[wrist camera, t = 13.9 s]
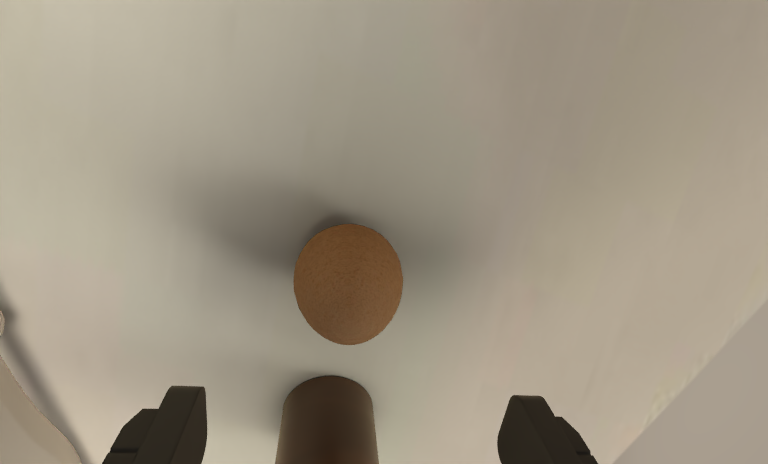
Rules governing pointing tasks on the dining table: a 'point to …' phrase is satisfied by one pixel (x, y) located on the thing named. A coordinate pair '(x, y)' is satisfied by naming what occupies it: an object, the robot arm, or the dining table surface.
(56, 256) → the dining table surface
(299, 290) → the egg
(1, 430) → the knife
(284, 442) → the pepper grinder
